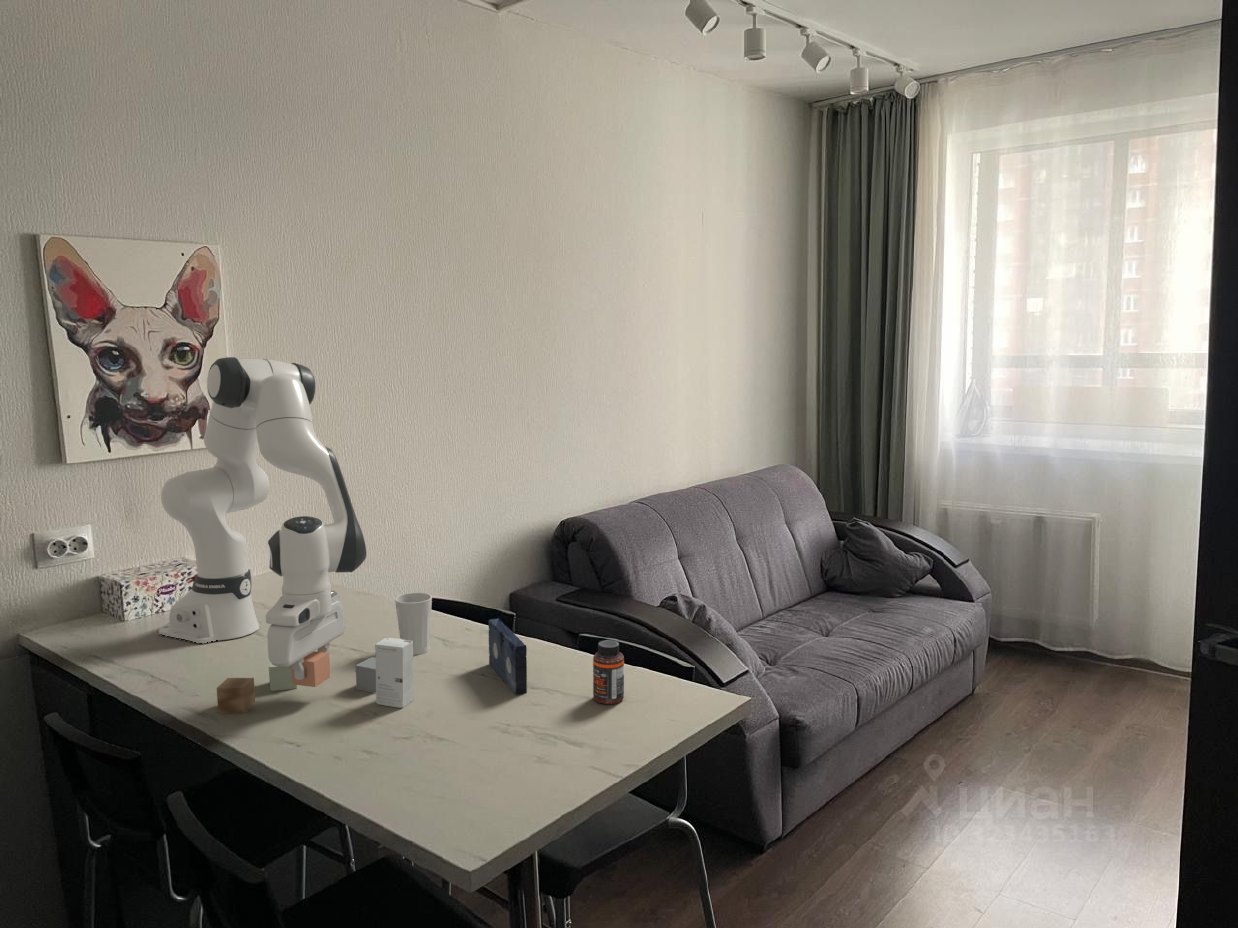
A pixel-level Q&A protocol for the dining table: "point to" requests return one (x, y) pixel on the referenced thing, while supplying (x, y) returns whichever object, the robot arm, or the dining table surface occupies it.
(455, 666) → the dining table surface
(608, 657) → the supplement bottle
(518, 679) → the vhs cassette tape
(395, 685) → the skincare box
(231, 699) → the walnut cube
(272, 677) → the sage cube
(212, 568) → the robot arm
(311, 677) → the terracotta cube
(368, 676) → the slate cube
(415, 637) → the cup
